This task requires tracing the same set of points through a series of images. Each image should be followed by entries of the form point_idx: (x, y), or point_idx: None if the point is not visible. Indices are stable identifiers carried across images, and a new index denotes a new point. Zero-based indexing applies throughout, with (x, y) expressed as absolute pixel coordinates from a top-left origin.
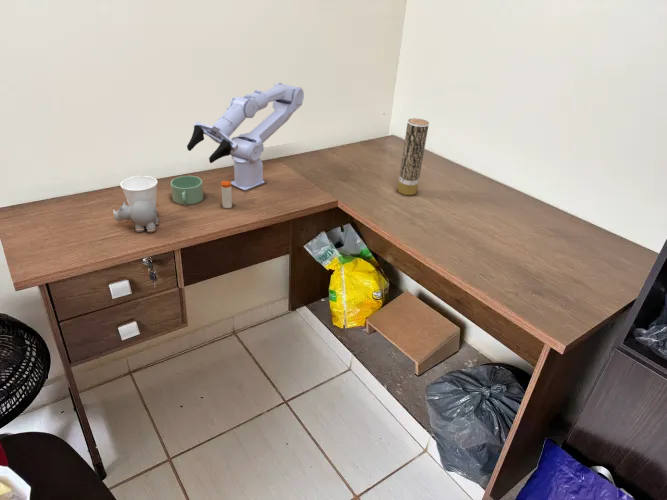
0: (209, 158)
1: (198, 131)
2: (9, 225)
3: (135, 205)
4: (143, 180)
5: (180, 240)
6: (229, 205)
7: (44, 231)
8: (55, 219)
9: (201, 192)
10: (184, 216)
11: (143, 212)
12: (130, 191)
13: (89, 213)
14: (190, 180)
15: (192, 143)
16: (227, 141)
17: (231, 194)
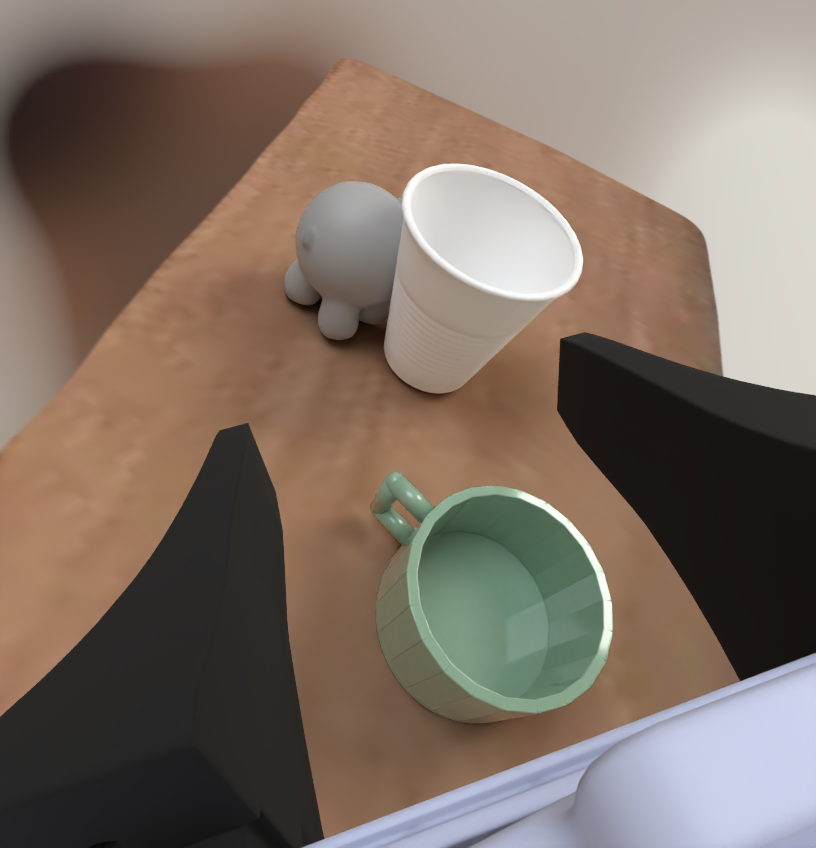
0: (241, 426)
1: (796, 435)
2: (607, 181)
3: (369, 183)
4: (548, 303)
5: (137, 298)
6: None
7: (532, 187)
8: (583, 233)
9: (399, 646)
10: (299, 453)
11: (317, 195)
12: (447, 177)
13: None
14: (565, 679)
15: (603, 387)
16: (11, 782)
17: None
